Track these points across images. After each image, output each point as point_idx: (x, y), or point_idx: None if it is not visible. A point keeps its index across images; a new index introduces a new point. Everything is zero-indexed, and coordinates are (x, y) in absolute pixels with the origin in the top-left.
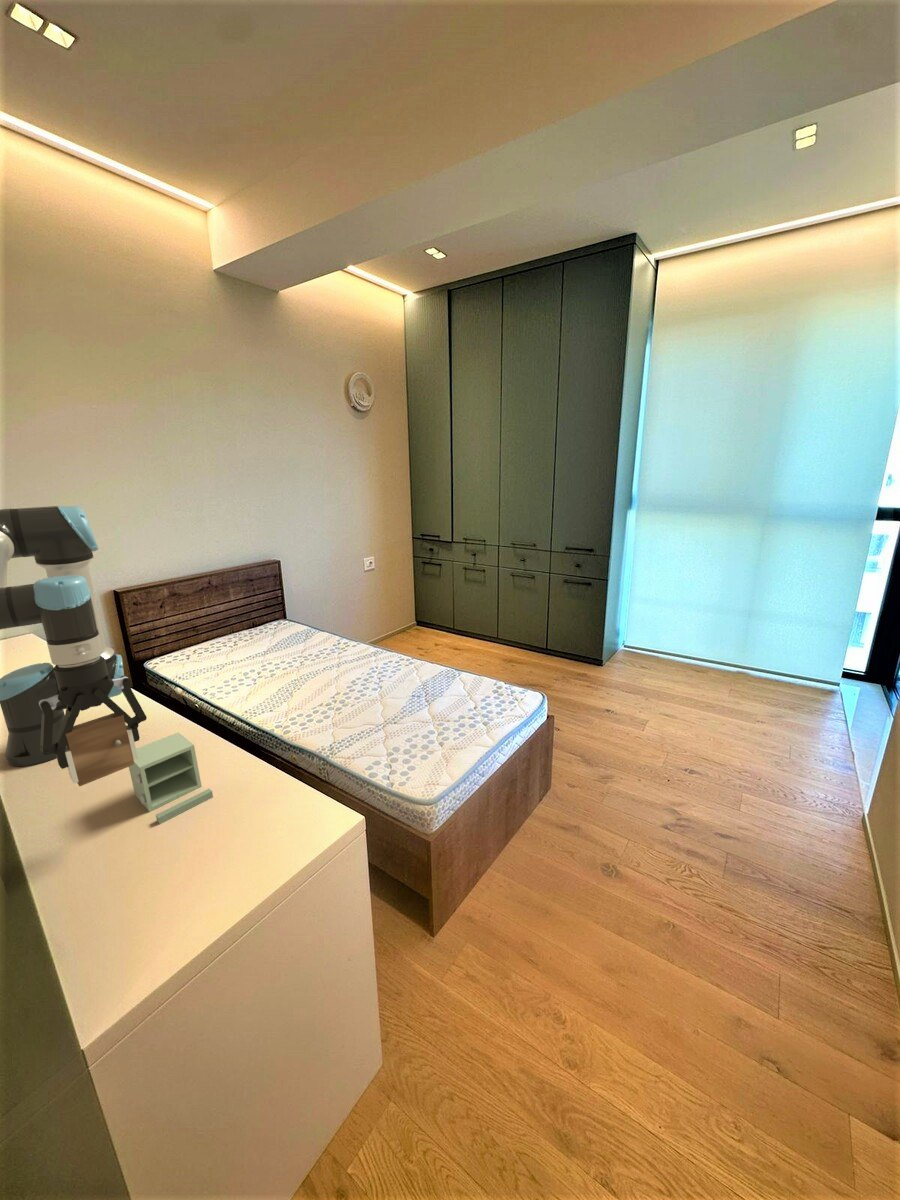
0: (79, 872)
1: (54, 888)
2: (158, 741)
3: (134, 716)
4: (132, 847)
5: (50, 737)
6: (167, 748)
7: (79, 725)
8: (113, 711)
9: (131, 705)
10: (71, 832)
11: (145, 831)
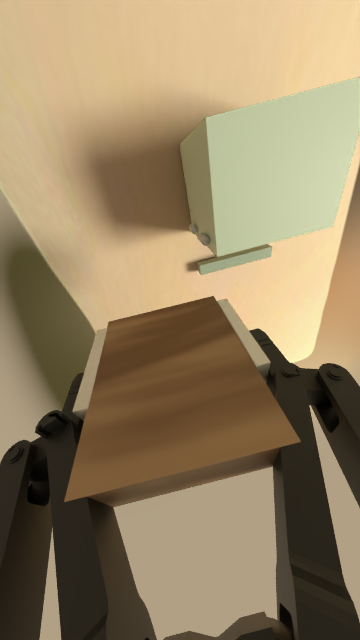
0: (117, 302)
1: (97, 312)
2: (302, 109)
3: (314, 390)
4: (167, 293)
5: (46, 532)
6: (292, 197)
7: (133, 489)
8: (275, 509)
9: (353, 482)
10: (83, 201)
11: (182, 272)
